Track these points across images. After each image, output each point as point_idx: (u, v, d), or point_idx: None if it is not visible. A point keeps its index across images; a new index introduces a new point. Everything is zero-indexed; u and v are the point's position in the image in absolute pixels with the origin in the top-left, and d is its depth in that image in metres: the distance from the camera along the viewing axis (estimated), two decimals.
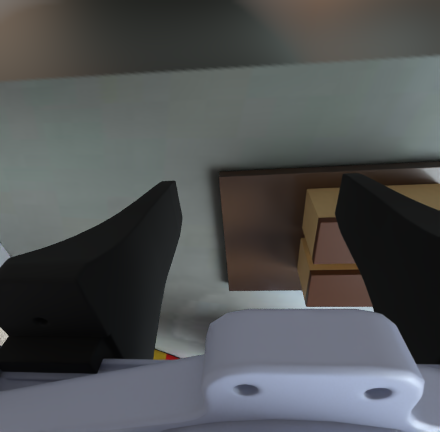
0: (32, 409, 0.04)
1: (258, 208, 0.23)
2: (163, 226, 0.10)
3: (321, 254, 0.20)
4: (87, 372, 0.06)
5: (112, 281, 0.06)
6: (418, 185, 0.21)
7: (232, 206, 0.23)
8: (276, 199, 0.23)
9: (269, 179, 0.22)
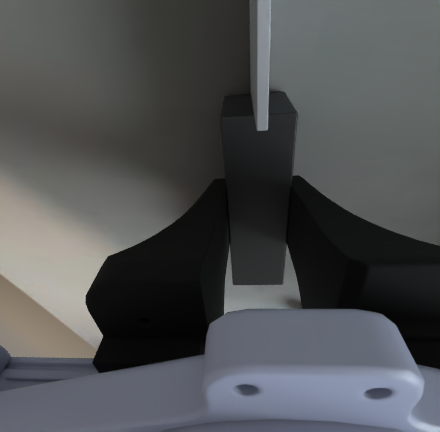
0: (32, 409, 0.04)
1: None
2: (224, 225, 0.10)
3: None
4: (87, 372, 0.06)
5: (209, 280, 0.06)
6: None
7: None
8: None
9: None
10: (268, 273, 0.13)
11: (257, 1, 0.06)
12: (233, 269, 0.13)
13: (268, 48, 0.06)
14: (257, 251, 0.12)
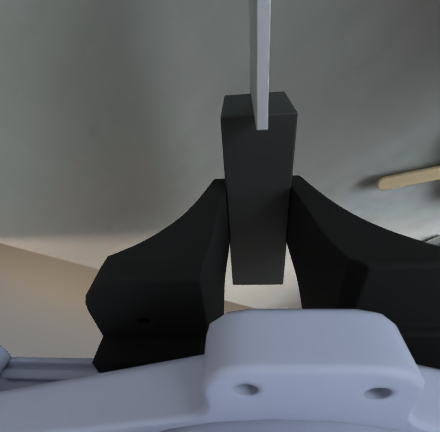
0: (32, 409, 0.04)
1: None
2: (224, 224, 0.10)
3: None
4: (87, 372, 0.06)
5: (209, 280, 0.06)
6: None
7: None
8: None
9: None
10: (268, 273, 0.13)
11: (257, 0, 0.06)
12: (233, 269, 0.13)
13: (268, 47, 0.06)
14: (257, 251, 0.12)
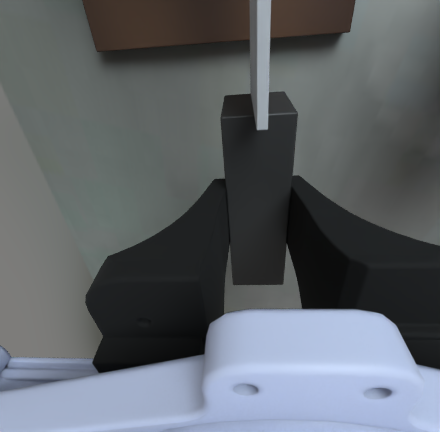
0: (32, 409, 0.04)
1: None
2: (224, 224, 0.10)
3: None
4: (87, 372, 0.06)
5: (209, 280, 0.06)
6: None
7: (141, 26, 0.15)
8: None
9: None
10: (268, 273, 0.13)
11: (257, 0, 0.06)
12: (233, 269, 0.13)
13: (268, 47, 0.06)
14: (257, 251, 0.12)
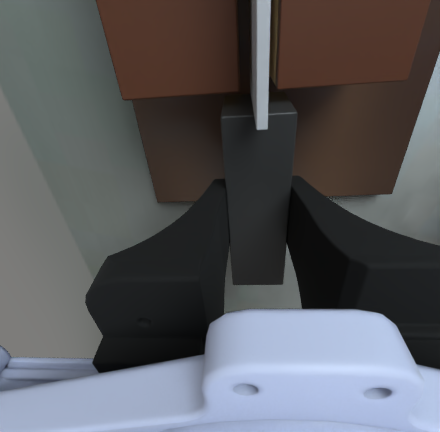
0: (32, 409, 0.04)
1: (201, 152, 0.15)
2: (224, 224, 0.10)
3: (205, 80, 0.09)
4: (87, 372, 0.06)
5: (209, 280, 0.06)
6: None
7: (200, 187, 0.16)
8: (181, 126, 0.14)
9: (149, 139, 0.15)
10: (268, 273, 0.13)
11: None
12: (233, 269, 0.13)
13: (268, 47, 0.06)
14: (256, 251, 0.12)
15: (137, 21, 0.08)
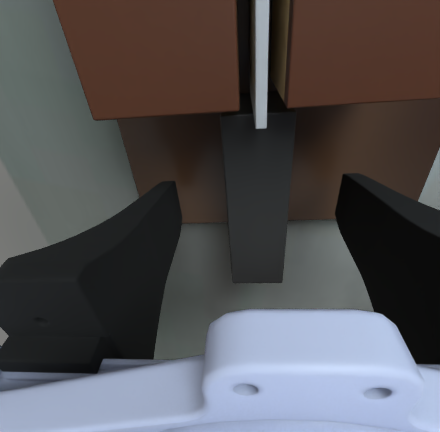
0: (32, 409, 0.04)
1: (195, 171, 0.13)
2: (163, 226, 0.10)
3: (195, 97, 0.07)
4: (87, 372, 0.06)
5: (112, 281, 0.06)
6: None
7: (195, 208, 0.14)
8: (172, 142, 0.12)
9: (136, 157, 0.13)
10: (267, 271, 0.13)
11: (255, 0, 0.06)
12: (233, 267, 0.13)
13: (266, 46, 0.06)
14: (256, 250, 0.12)
15: (106, 22, 0.06)
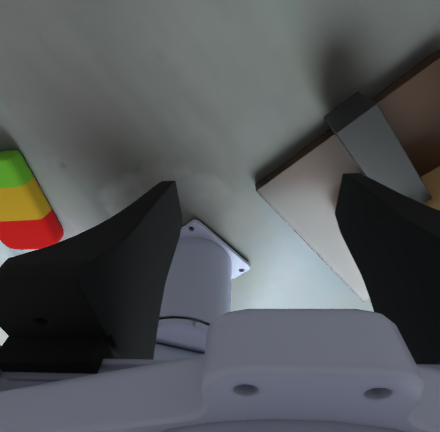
0: (32, 409, 0.04)
1: (413, 128, 0.18)
2: (163, 226, 0.10)
3: None
4: (87, 372, 0.06)
5: (112, 281, 0.06)
6: None
7: (404, 100, 0.17)
8: (436, 136, 0.18)
9: None
10: (355, 135, 0.16)
11: None
12: (385, 119, 0.15)
13: None
14: (375, 146, 0.16)
15: None
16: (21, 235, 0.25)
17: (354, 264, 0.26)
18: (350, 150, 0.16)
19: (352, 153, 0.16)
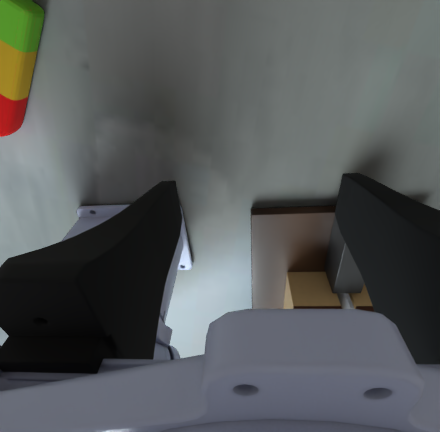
0: (32, 409, 0.04)
1: None
2: (163, 226, 0.10)
3: None
4: (87, 372, 0.06)
5: (112, 281, 0.06)
6: None
7: None
8: None
9: None
10: None
11: None
12: None
13: None
14: None
15: None
16: None
17: (270, 305, 0.30)
18: None
19: None
